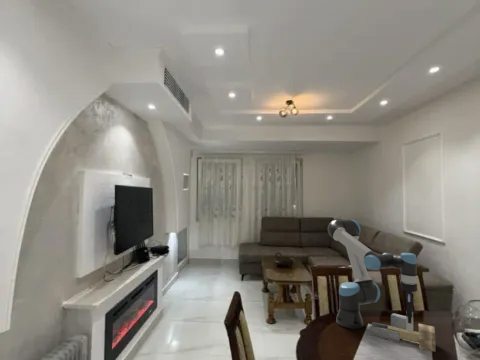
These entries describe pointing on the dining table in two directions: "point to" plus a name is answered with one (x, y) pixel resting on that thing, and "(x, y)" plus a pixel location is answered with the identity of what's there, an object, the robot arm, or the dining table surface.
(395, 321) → the medicine box
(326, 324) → the dining table surface
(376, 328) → the guide channel
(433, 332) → the socket block
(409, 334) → the tan slab piece
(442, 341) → the dining table surface
